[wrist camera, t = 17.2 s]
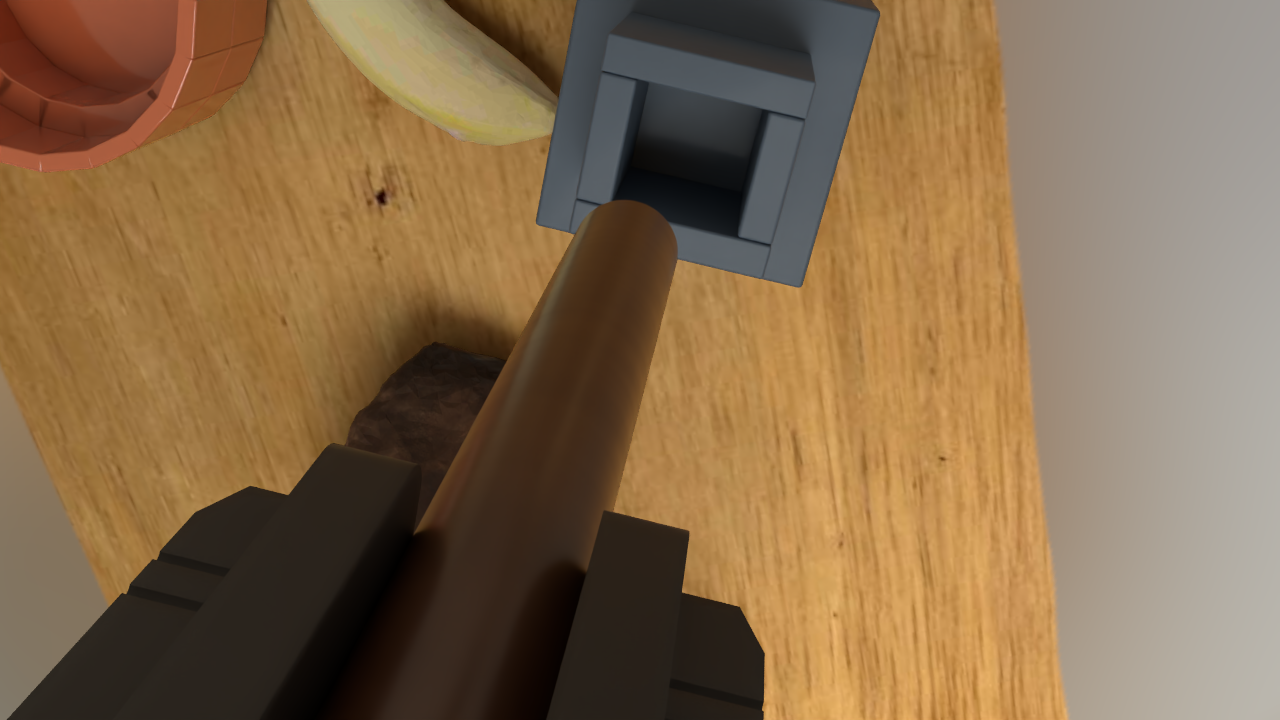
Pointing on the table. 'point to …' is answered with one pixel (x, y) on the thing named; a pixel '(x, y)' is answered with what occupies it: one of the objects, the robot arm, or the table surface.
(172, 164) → the table surface
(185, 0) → the bowl
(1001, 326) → the table surface
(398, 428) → the decorative rock
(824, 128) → the holder
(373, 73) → the fruit
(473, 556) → the stick
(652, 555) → the robot arm
